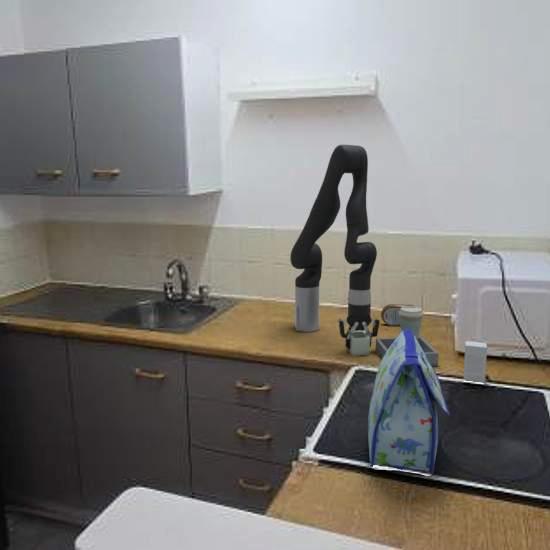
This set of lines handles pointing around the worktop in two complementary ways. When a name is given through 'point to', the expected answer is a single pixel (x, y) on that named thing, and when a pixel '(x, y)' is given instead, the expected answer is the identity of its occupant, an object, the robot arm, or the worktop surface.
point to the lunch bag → (405, 408)
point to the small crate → (359, 343)
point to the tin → (392, 314)
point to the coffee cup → (411, 319)
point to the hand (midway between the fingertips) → (358, 348)
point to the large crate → (429, 351)
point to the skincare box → (475, 361)
